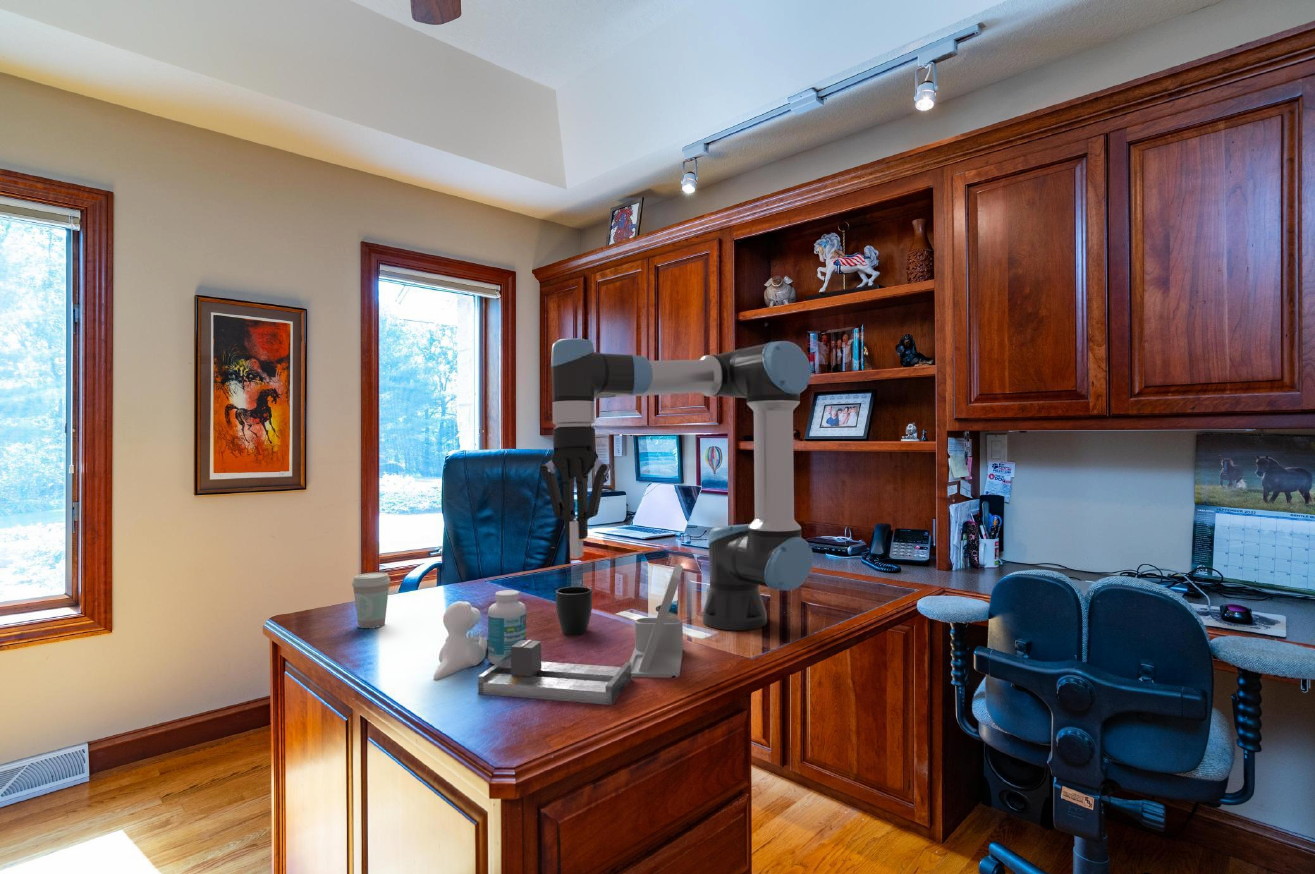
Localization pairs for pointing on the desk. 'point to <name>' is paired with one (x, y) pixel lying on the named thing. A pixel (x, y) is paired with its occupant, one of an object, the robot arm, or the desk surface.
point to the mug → (574, 609)
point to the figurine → (461, 640)
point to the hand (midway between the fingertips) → (576, 556)
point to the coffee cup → (371, 598)
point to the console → (557, 682)
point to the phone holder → (659, 639)
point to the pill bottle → (505, 624)
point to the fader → (526, 658)
